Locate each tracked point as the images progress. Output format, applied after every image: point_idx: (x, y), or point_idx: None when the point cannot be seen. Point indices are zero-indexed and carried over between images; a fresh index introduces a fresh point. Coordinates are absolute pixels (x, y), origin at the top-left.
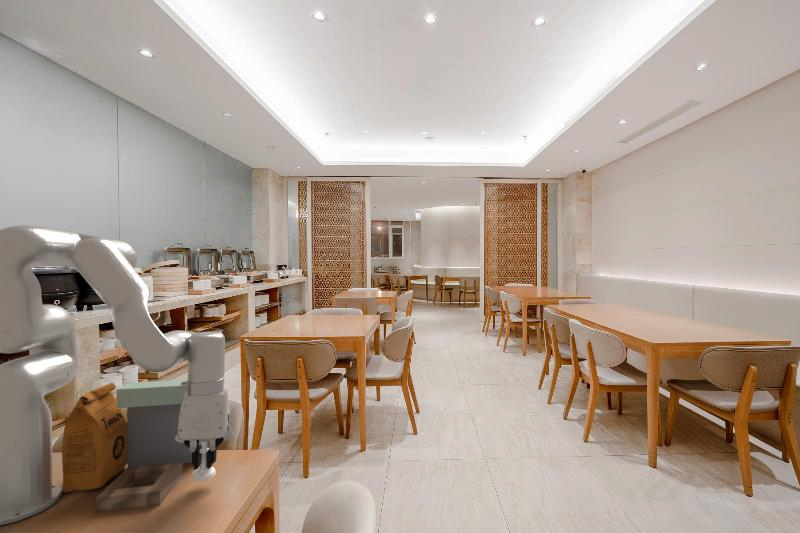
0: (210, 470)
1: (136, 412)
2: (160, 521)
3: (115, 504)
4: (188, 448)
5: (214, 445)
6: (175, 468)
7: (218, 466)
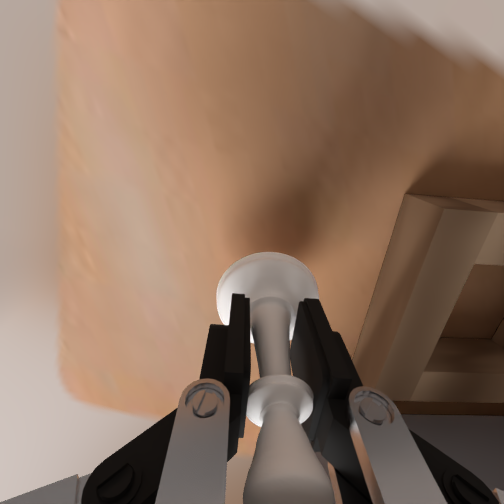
0: None
1: None
2: (390, 63)
3: None
4: None
5: (181, 426)
6: (392, 366)
7: None
